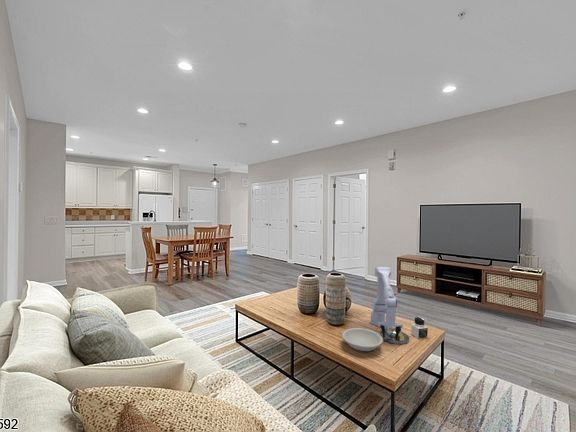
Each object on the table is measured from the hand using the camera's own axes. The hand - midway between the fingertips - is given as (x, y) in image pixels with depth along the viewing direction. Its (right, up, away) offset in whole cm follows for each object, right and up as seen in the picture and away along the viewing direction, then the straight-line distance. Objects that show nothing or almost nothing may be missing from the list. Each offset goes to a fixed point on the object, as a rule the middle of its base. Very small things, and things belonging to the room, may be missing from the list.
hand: (390, 337), depth 174 cm
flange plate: (+5, -3, +6) cm, 8 cm away
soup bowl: (-19, -3, -6) cm, 21 cm away
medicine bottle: (+23, -3, +9) cm, 24 cm away
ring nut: (+5, -1, +6) cm, 8 cm away
